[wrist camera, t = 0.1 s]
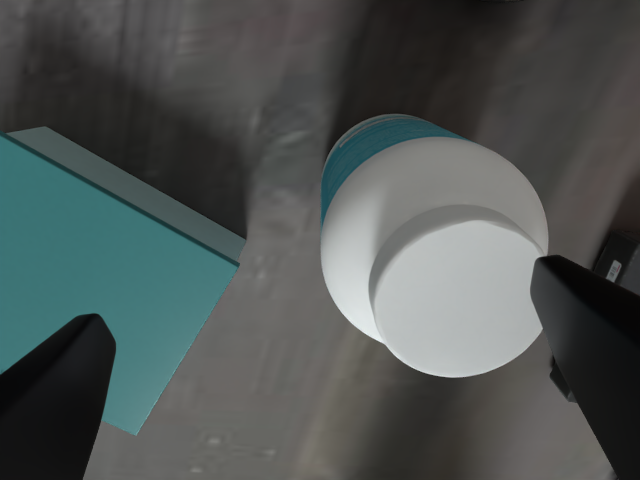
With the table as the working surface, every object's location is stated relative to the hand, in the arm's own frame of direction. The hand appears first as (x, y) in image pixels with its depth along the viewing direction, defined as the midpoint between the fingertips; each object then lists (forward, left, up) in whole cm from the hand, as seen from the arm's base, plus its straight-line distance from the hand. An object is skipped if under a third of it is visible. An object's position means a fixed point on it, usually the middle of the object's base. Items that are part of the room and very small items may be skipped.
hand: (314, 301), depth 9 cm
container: (-12, +7, -15) cm, 21 cm away
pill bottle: (+1, -4, -16) cm, 16 cm away
